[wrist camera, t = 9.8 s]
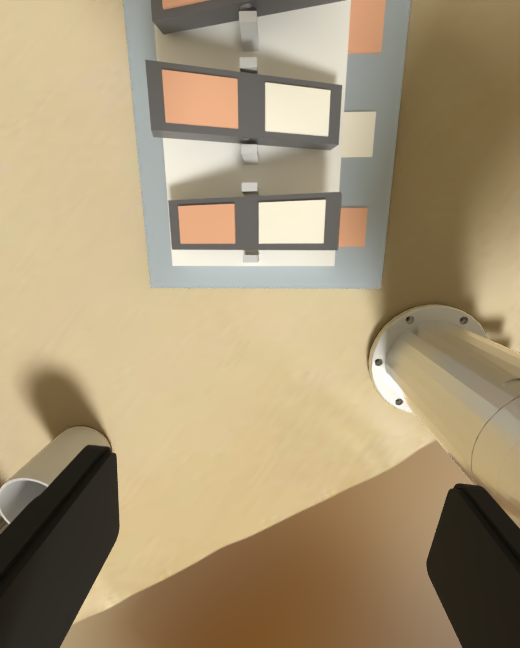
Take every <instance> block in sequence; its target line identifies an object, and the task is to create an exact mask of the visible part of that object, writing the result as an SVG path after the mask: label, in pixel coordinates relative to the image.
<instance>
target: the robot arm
mask: <svg viewBox="0 0 520 648" xmlns="http://www.w3.org/2000/svg"><path fill="white" fill-rule="evenodd" d="M407 317H408V319H407V320H406V318H407ZM460 318H461V319H460ZM376 359H378V360H377V361H375V360H376ZM368 363H369V373H370V377H371V381H372V382H373V384H374V386H375V388H376V390H377V391H378V392H379V394H380V395H381V396H382V397H383V398H384V399H385V400H386V401H387V402H388V403H389V404H391V405H392V406H394V407H395V408H398V409H400V410H403V411H405V412H410V413H414V414H415V415H416V416H417V417H418V419H419V420H420V421H421V422H422V423H423V424H424V426H425V427H426V428H427V429H428V430H429V432H430V433H431V434H432V435H433V436H434V438H435V439H436V440H437V441H438V442H439V444H440V445H441V446H442V447H443V448H444V449H445V451H446V452H447V453H448V454H449V455H450V457H451V458H452V459H453V460H454V461H455V463H456V464H457V465H458V466H459V467H460V468H461V470H462V471H463V472H464V473H465V474H466V475H467V477H468V478H469V479H470V480H471V482H472V483H473V484H474V485H469V484H456V485H455V486H454V488H453V489H450V490H449V492H448V494H447V497H446V500H445V504H444V507H443V510H442V513H441V517H440V520H439V523H438V526H437V529H436V533H435V536H434V539H433V542H432V546H431V548H430V552H429V555H428V558H427V571H428V575H429V577H430V580H431V582H432V584H433V586H434V588H435V590H436V592H437V595H438V597H439V598H440V601H441V603H442V605H443V607H444V609H445V611H446V614H447V616H448V618H449V620H450V622H451V624H452V626H453V628H454V631H455V633H456V635H457V637H458V639H459V641H460V643H461V645H462V647H463V648H520V352H517V351H515V350H512V349H510V348H508V347H505V346H503V345H501V344H499V343H496V342H494V341H492V340H489V339H488V338H487V335H486V333H485V330H484V329H483V328H482V326H481V325H480V324H479V322H478V321H477V320H475V319H474V318H473V317H472V316H471V315H469V314H467V313H465V312H464V311H462V310H459V309H457V308H454V307H451V306H445V305H440V304H428V305H422V306H417V307H414V308H411V309H409V310H406V311H404V312H402V313H400V314H399V315H397V316H395V317H394V318H393V319H392V320H390V321H389V322H388V323H387V324H386V325H385V326H384V327H383V328H382V329H381V331H380V332H379V333H378V335H377V337H376V338H375V340H374V342H373V345H372V347H371V350H370V355H369V361H368ZM118 533H119V503H118V479H117V457H116V454H115V453H112V452H111V448H110V447H108V446H99V445H87V446H85V447H84V448H83V449H82V450H81V451H80V452H79V454H78V455H77V456H76V457H75V458H74V459H73V460H72V461H71V462H70V463H69V464H68V465H67V466H66V468H65V469H64V470H63V471H62V472H61V473H60V474H59V475H58V476H57V477H56V478H55V479H54V480H53V482H52V483H51V484H50V485H49V486H48V487H47V488H46V489H45V490H44V491H43V492H42V493H41V494H40V495H39V496H37V497H36V498H34V499H33V500H32V501H31V502H30V503H29V504H28V505H27V506H26V507H25V508H24V509H23V510H22V511H21V513H20V514H19V515H18V516H17V517H16V518H15V519H14V520H13V521H12V522H11V523H10V524H9V525H8V526H7V527H6V528H5V530H4V531H3V532H2V533H1V534H0V648H60V646H61V644H62V642H63V640H64V638H65V636H66V635H67V633H68V631H69V629H70V627H71V625H72V623H73V621H74V620H75V618H76V616H77V614H78V612H79V610H80V608H81V606H82V604H83V602H84V601H85V599H86V597H87V595H88V593H89V591H90V589H91V587H92V585H93V584H94V582H95V580H96V578H97V576H98V574H99V572H100V570H101V568H102V567H103V565H104V563H105V561H106V559H107V557H108V555H109V553H110V551H111V549H112V548H113V546H114V544H115V542H116V539H117V537H118Z"/></svg>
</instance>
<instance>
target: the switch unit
mask: <svg viewBox="0 0 520 648" xmlns="http://www.w3.org/2000/svg"><path fill="white" fill-rule="evenodd" d="M410 5H411V0H345V1H340V2H334V3H329V4H324V5H318V6H313V7H308V8H303V9H297V10H292V11H287V12H281V13H276V14H271V15H265V16H260V17H257V11H239V21H233V22H228V23H223V24H218V25H212V26H207V27H202V28H196V29H191V30H186V31H180V32H175V33H170V34H164V35H163V33H162V32H161V31H160V30H159V29H158V27H157V26H156V25H155V24H154V23H153V21H152V12H151V0H123V6H124V16H125V26H126V37H127V47H128V57H129V68H130V78H131V89H132V99H133V109H134V120H135V130H136V140H137V151H138V161H139V171H140V182H141V192H142V203H143V213H144V223H145V234H146V244H147V254H148V265H149V275H150V285H151V288H293V289H381V284H382V274H383V264H384V255H385V245H386V236H387V226H388V216H389V207H390V197H391V188H392V178H393V168H394V159H395V149H396V140H397V130H398V120H399V111H400V101H401V92H402V82H403V72H404V63H405V53H406V44H407V34H408V24H409V15H410ZM145 60H152V61H160V62H167V63H175V64H183V65H191V66H198V67H206V68H214V69H222V70H230V71H237V72H245V73H253V74H261V75H268V76H276V77H284V78H292V79H299V80H307V81H315V82H323V83H330V84H338V85H342V98H341V115H340V132H339V145H338V146H336V147H335V148H333V149H331V150H318V149H305V148H292V147H278V146H265V145H257V144H238V143H225V142H211V141H198V140H185V139H171V138H158V137H153V134H152V131H151V123H150V111H149V99H148V87H147V76H146V64H145ZM325 192H341V194H342V199H341V215H340V230H339V246H338V250H172V245H171V232H170V218H169V205H168V200H186V199H206V198H226V197H246V196H266V195H286V194H305V193H325Z"/></svg>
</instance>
